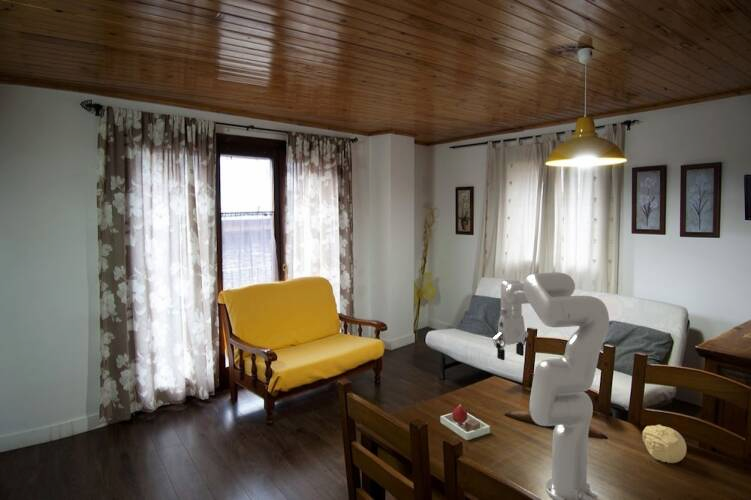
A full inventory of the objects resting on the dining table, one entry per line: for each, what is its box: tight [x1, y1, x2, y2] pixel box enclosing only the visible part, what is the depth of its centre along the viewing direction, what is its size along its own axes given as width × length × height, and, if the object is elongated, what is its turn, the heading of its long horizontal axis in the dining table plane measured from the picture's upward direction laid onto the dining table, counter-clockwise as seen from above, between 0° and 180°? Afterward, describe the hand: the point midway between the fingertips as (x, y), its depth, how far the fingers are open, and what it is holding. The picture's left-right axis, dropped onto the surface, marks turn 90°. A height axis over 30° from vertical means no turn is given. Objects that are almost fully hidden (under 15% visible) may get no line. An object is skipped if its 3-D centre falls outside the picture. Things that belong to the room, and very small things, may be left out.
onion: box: [451, 404, 468, 425], centre depth 177 cm, size 6×6×8 cm
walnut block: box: [465, 419, 480, 432], centre depth 171 cm, size 4×4×4 cm
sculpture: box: [642, 424, 687, 464], centre depth 153 cm, size 12×12×11 cm
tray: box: [439, 412, 491, 441], centre depth 175 cm, size 16×11×3 cm
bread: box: [504, 410, 608, 439], centre depth 176 cm, size 38×5×5 cm, turn 58°
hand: (510, 356), depth 173 cm, fingers open, 9 cm apart
